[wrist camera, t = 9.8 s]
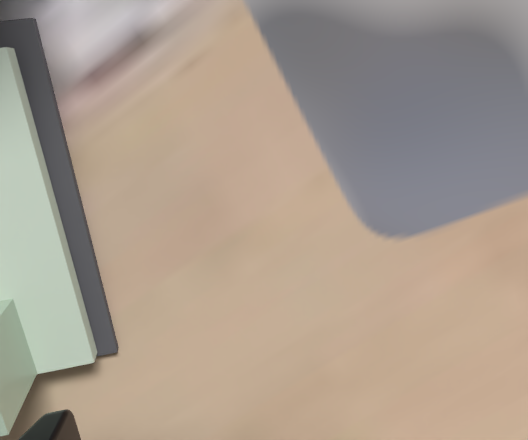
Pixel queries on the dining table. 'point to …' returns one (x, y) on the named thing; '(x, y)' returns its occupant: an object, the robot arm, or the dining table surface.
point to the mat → (61, 174)
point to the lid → (32, 259)
